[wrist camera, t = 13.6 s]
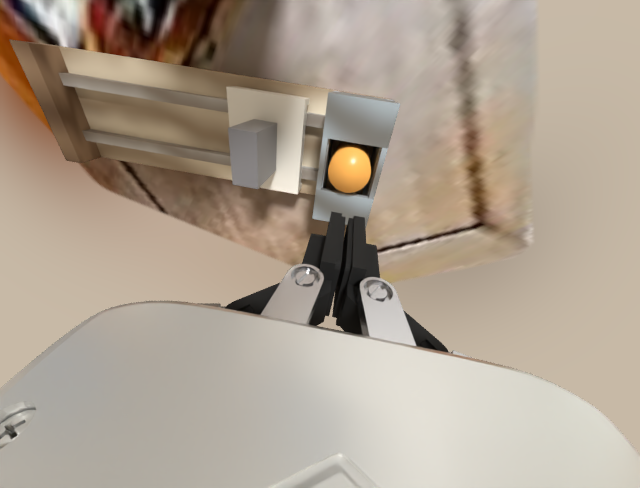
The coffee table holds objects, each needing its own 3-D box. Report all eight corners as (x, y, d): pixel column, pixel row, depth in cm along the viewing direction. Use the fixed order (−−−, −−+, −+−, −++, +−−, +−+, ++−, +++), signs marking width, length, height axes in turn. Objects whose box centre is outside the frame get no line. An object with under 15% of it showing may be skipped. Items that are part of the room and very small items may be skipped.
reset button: (336, 136, 25) (331, 146, 21) (373, 142, 25) (375, 154, 21) (330, 173, 28) (325, 189, 24) (364, 179, 28) (365, 196, 23)
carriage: (236, 86, 26) (191, 87, 19) (309, 98, 25) (290, 103, 18) (242, 176, 31) (208, 203, 24) (301, 187, 31) (284, 217, 24)
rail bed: (55, 45, 28) (-39, 33, 21) (389, 98, 26) (400, 104, 20) (97, 152, 34) (36, 168, 28) (364, 199, 33) (365, 228, 26)
